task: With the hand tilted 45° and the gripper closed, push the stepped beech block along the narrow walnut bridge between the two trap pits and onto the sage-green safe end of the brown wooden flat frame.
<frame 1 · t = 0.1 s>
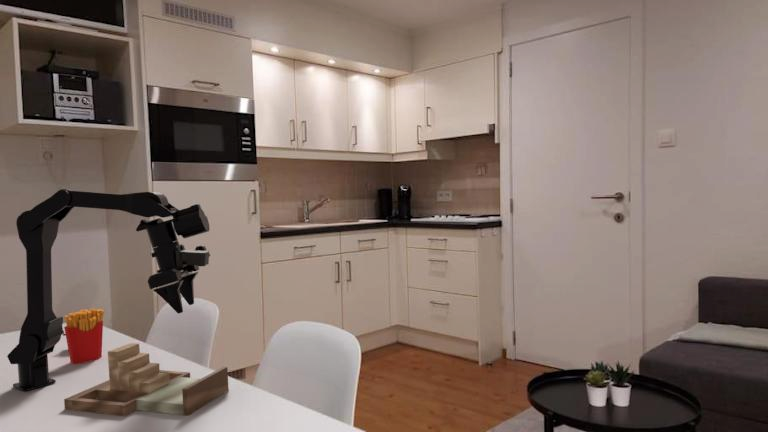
hand: (186, 308, 123), 15 cm above the table, tool pointing down, fingers open, 9 cm apart
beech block: (140, 385, 111), point 2 cm above the table, touching brown wooden flat frame
brown wooden flat frame: (154, 396, 110), on the table
game die: (82, 348, 150), on the table
french fries: (87, 360, 139), on the table
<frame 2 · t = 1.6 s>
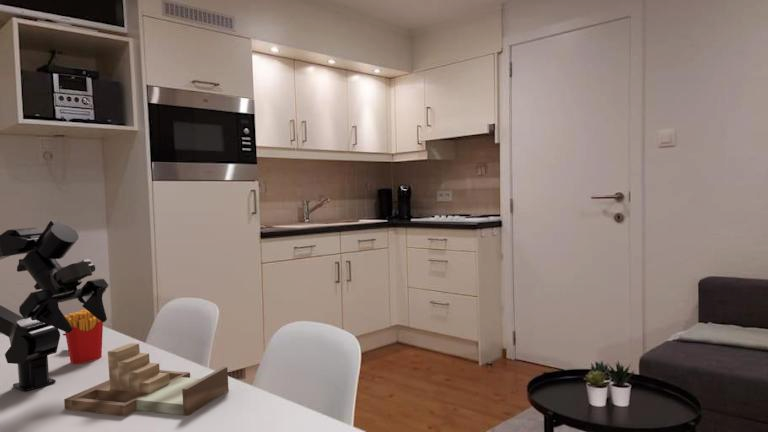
hand: (88, 326, 115), 14 cm above the table, tool tilted 40°, fingers open, 9 cm apart
nothing on the table moved.
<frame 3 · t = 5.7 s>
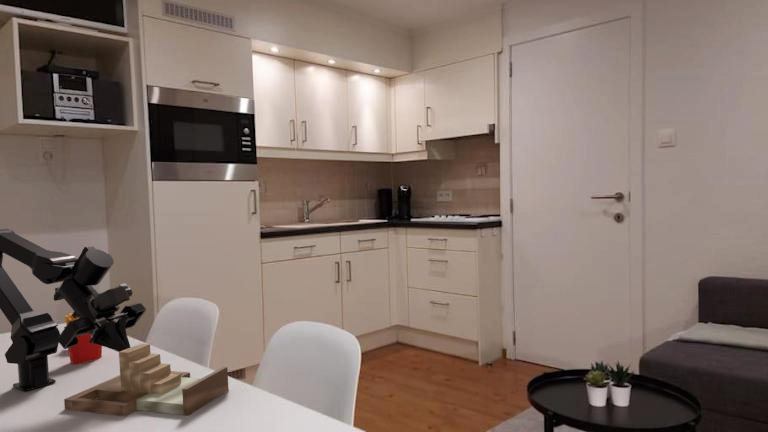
hand: (129, 352, 112), 9 cm above the table, tool tilted 45°, fingers closed, pressing on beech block
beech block: (151, 386, 110), point 2 cm above the table, touching gripper
everything else where it was.
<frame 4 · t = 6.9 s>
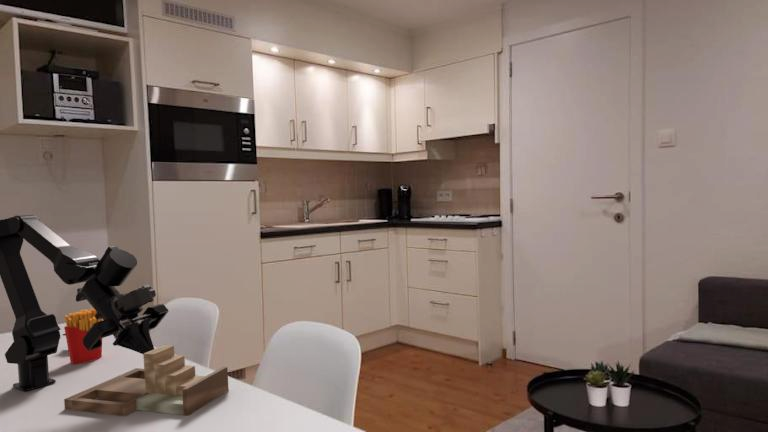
hand: (153, 355, 110), 9 cm above the table, tool tilted 45°, fingers closed, pressing on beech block
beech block: (176, 389, 108), point 2 cm above the table, touching gripper, brown wooden flat frame
everything else where it was.
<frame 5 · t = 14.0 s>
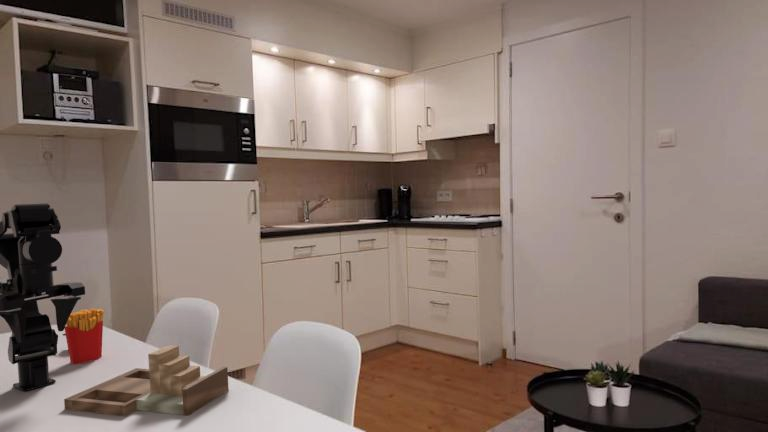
hand: (41, 336, 112), 13 cm above the table, tool pointing down, fingers open, 9 cm apart
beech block: (181, 389, 108), point 2 cm above the table, touching brown wooden flat frame
everything else where it was.
at the end: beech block inside the target area (0.3 cm from its centre), point 2.0 cm above the table; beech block tilted 0°; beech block touching brown wooden flat frame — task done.
